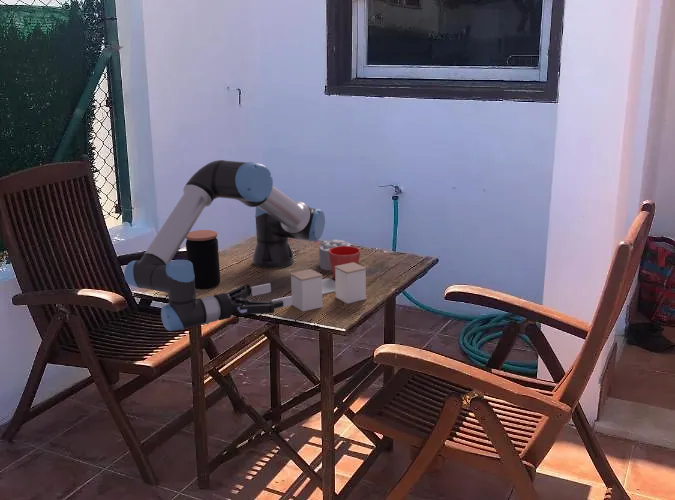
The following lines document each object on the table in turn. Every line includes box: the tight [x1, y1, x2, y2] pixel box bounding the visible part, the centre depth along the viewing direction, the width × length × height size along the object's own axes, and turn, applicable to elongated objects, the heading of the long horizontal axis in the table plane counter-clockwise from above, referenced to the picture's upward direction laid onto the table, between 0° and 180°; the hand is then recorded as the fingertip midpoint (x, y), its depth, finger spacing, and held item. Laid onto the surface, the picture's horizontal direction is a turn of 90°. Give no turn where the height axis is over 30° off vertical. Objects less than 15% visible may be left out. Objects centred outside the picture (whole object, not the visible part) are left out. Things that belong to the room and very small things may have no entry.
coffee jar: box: [185, 229, 221, 290], centre depth 246 cm, size 11×11×18 cm
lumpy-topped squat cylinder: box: [318, 239, 352, 271], centre depth 267 cm, size 10×13×9 cm
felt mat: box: [322, 277, 336, 296], centre depth 244 cm, size 12×12×1 cm
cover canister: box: [289, 268, 324, 312], centre depth 227 cm, size 7×7×10 cm
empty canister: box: [334, 262, 367, 304], centre depth 233 cm, size 7×7×10 cm
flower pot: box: [329, 246, 361, 279], centre depth 253 cm, size 11×11×10 cm
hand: (280, 293), depth 222 cm, fingers open, 13 cm apart
